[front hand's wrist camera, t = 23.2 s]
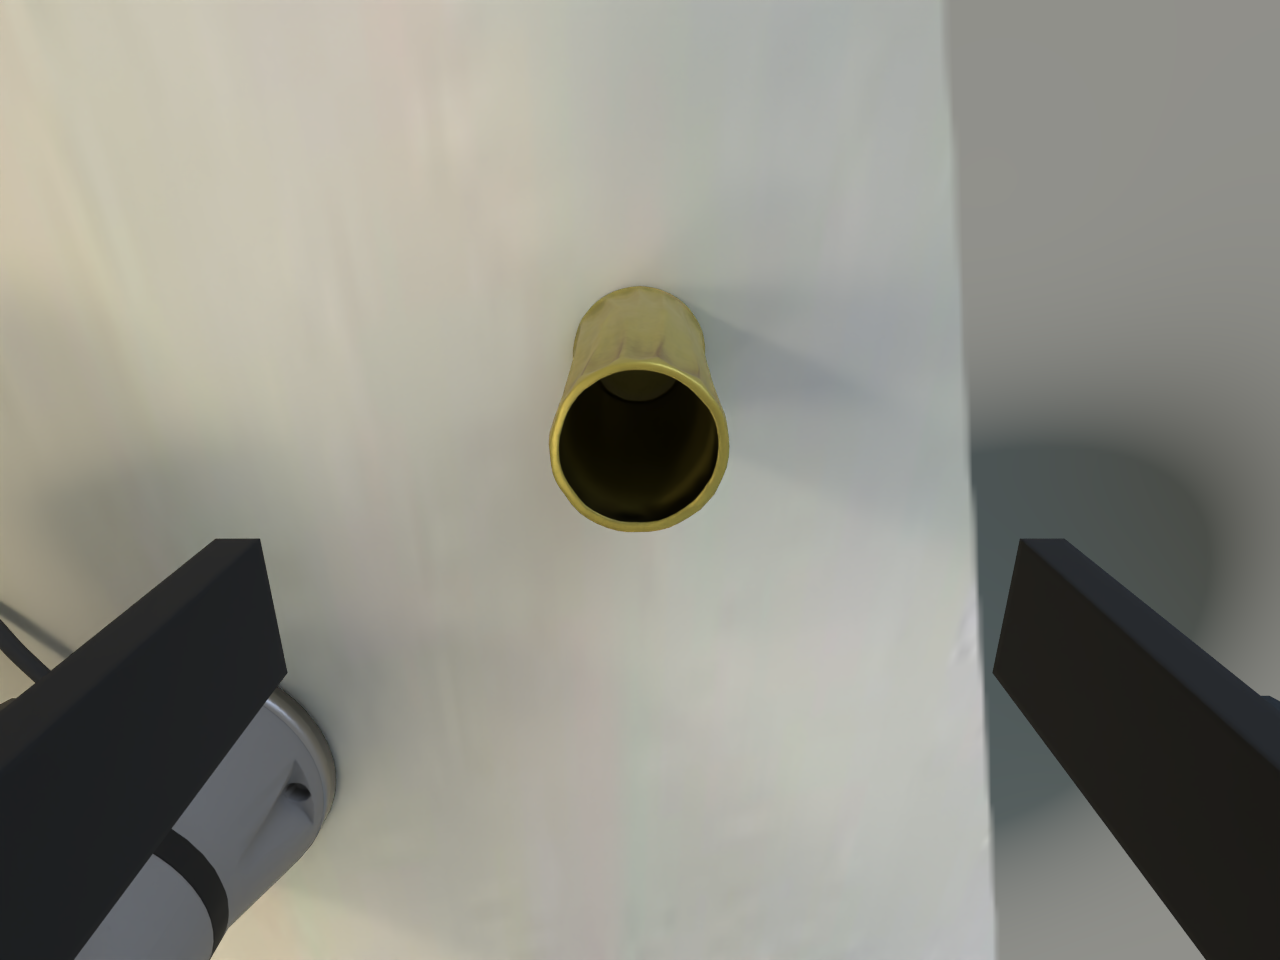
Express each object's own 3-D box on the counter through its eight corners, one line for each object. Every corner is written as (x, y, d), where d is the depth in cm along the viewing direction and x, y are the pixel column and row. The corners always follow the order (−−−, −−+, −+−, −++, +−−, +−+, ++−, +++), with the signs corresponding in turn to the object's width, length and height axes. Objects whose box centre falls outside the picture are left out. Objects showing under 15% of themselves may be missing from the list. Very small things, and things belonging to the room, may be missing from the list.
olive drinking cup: (575, 415, 35) (536, 547, 22) (572, 284, 33) (526, 342, 20) (701, 416, 35) (740, 548, 22) (707, 286, 33) (752, 344, 20)
